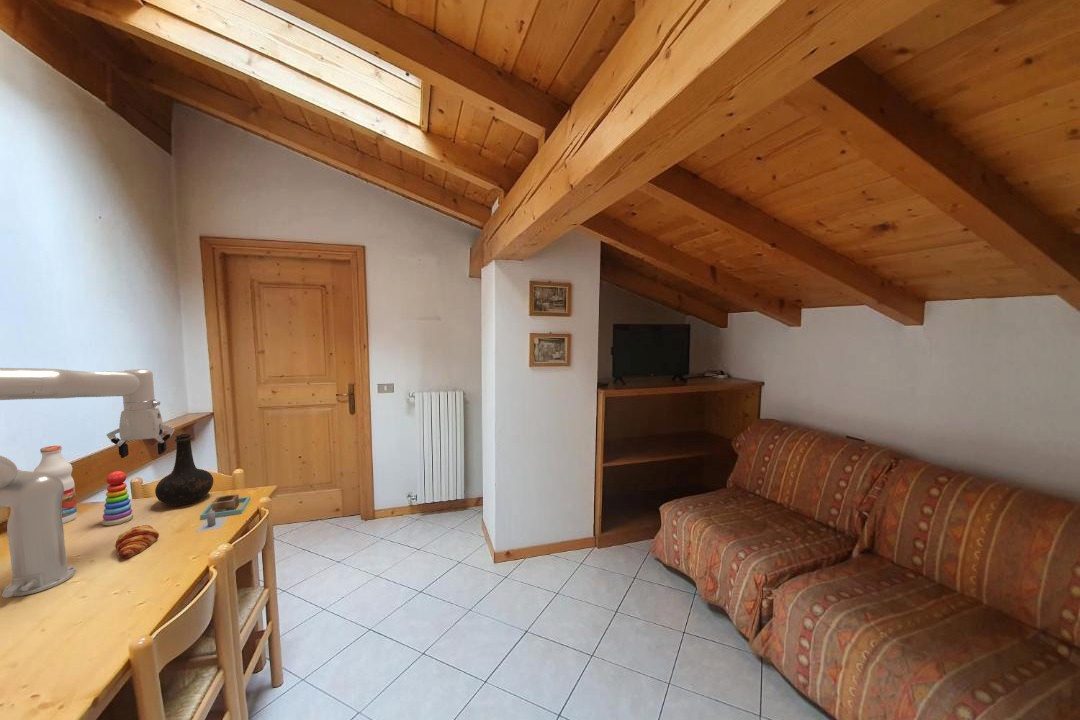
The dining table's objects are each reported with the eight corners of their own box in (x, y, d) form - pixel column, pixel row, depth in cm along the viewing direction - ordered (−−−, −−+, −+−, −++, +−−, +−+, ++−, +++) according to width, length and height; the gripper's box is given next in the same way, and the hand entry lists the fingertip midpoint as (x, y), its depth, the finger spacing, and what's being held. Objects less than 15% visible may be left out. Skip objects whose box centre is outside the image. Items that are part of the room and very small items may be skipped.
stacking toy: (117, 526, 143) (113, 476, 142) (95, 526, 144) (91, 476, 142) (139, 516, 151) (135, 468, 150) (119, 515, 151) (115, 468, 150)
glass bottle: (149, 514, 153) (143, 443, 150) (165, 496, 168) (160, 432, 166) (208, 505, 161) (204, 437, 159) (218, 488, 177) (214, 427, 174)
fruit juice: (43, 519, 148) (36, 446, 145) (81, 512, 153) (74, 442, 151) (32, 530, 140) (24, 453, 138) (72, 522, 146) (65, 448, 143)
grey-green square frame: (241, 515, 153) (241, 509, 153) (200, 521, 148) (200, 515, 148) (250, 501, 165) (250, 496, 164) (212, 506, 160) (212, 501, 159)
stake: (220, 529, 142) (219, 514, 142) (195, 533, 140) (194, 518, 139) (228, 518, 151) (227, 504, 150) (205, 521, 148) (204, 507, 147)
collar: (239, 504, 161) (238, 493, 160) (233, 513, 153) (232, 502, 153) (218, 507, 158) (217, 496, 158) (211, 516, 151) (210, 505, 150)
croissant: (137, 543, 139) (120, 527, 137) (170, 524, 143) (155, 507, 141) (115, 575, 121) (95, 556, 119) (154, 551, 126) (136, 533, 123)
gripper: (177, 402, 142) (180, 449, 143) (111, 405, 135) (115, 454, 136) (167, 406, 135) (171, 455, 136) (98, 409, 128) (102, 461, 129)
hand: (143, 455), depth 136 cm, fingers open, 9 cm apart
